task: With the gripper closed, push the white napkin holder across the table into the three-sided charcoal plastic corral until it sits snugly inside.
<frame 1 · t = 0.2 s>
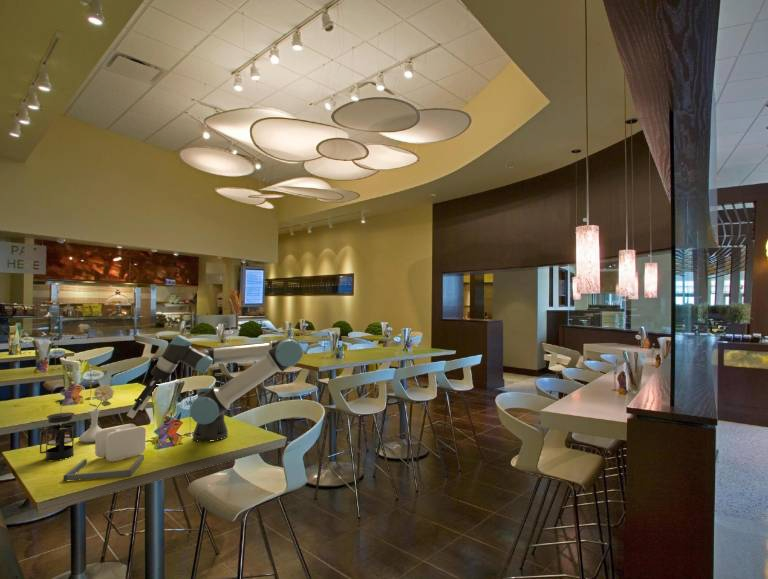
hand: (134, 412, 186), 16 cm above the table, tool tilted 30°, fingers open, 13 cm apart
white napkin holder: (120, 457, 178), on the table
flower in vase: (96, 440, 200), on the table
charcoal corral: (106, 469, 164), on the table
french press: (58, 457, 177), on the table
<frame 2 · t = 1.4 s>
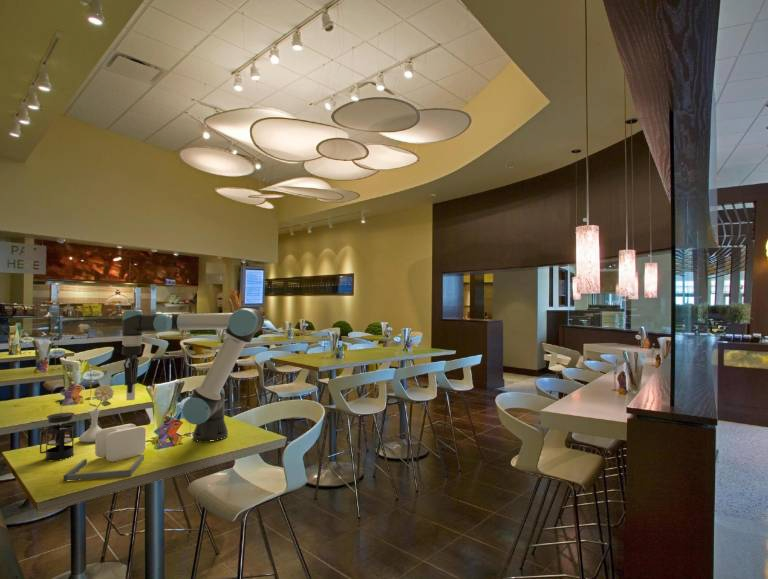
hand: (130, 399, 191), 20 cm above the table, tool pointing down, fingers closed
nothing on the table moved.
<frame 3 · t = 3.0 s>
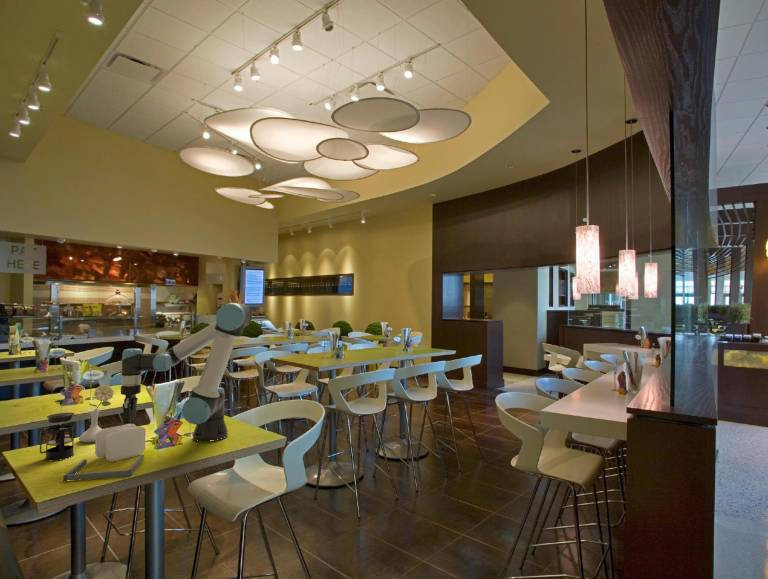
hand: (128, 439, 190), 3 cm above the table, tool pointing down, fingers closed
nothing on the table moved.
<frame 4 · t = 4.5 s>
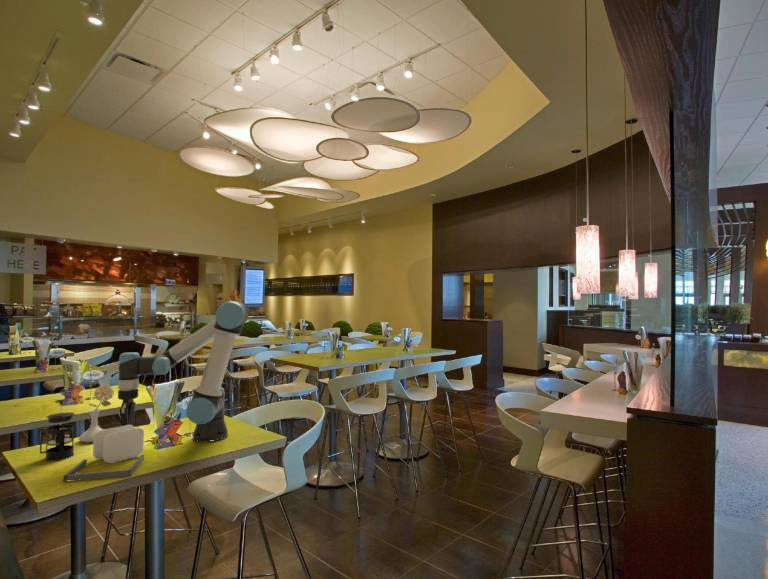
hand: (126, 444, 187), 2 cm above the table, tool pointing down, fingers closed
white napkin holder: (118, 458, 176), on the table, touching hand
everything else where it was.
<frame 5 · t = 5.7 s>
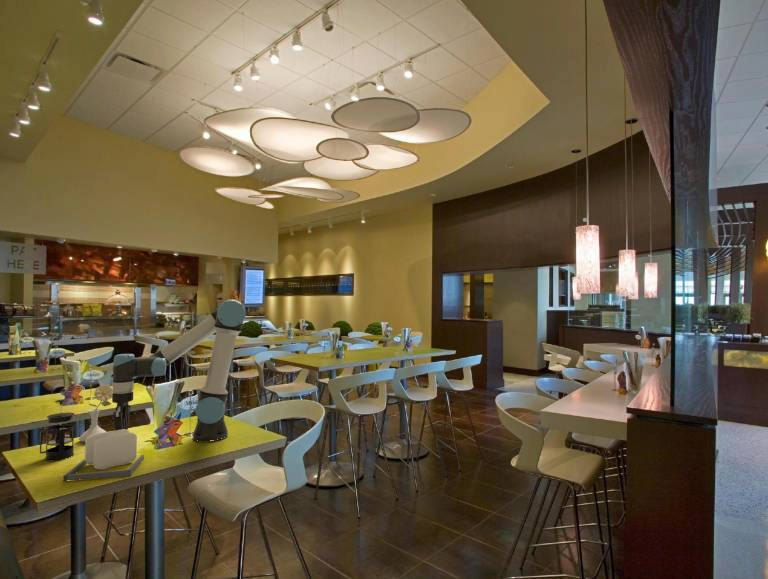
hand: (121, 449, 180), 2 cm above the table, tool pointing down, fingers closed
white napkin holder: (110, 464, 170), on the table, touching hand
everything else where it was.
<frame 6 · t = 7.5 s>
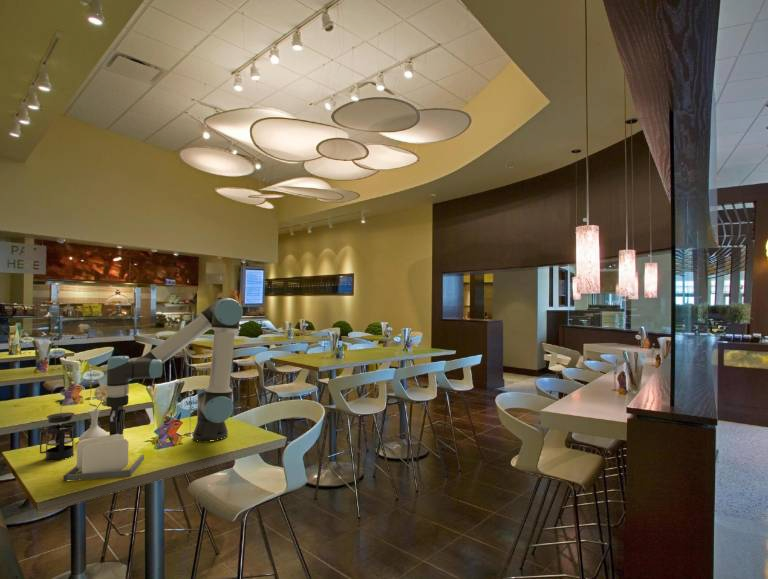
hand: (116, 455, 174), 2 cm above the table, tool pointing down, fingers closed
white napkin holder: (102, 471, 163), on the table, touching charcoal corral, hand
everything else where it was.
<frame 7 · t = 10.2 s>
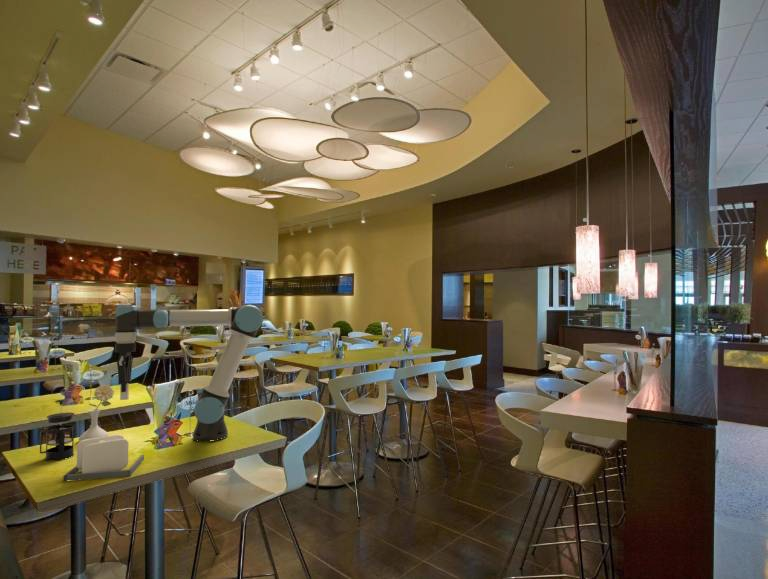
hand: (124, 399, 182), 22 cm above the table, tool pointing down, fingers closed
white napkin holder: (102, 471, 163), on the table
everything else where it was.
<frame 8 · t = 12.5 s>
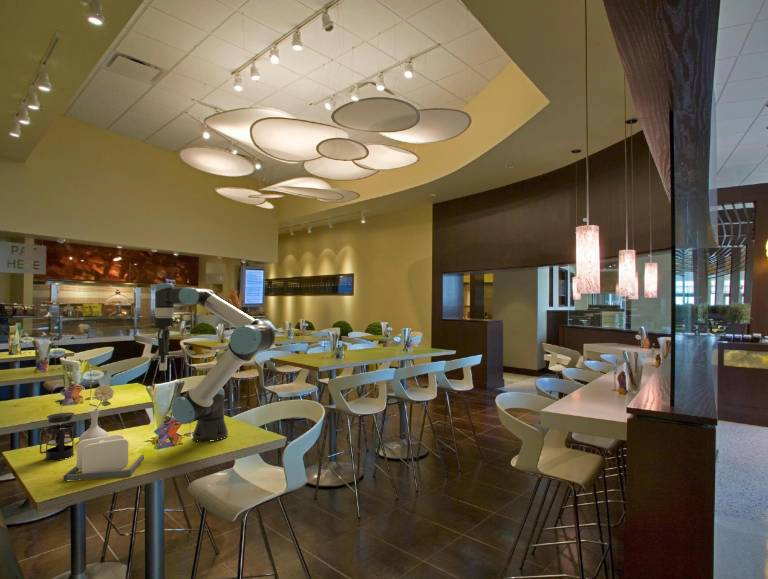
hand: (163, 370, 197), 32 cm above the table, tool pointing down, fingers closed
nothing on the table moved.
at the end: white napkin holder inside the target area on the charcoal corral (1.3 cm from its centre), point 0.0 cm above the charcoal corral's base; white napkin holder tilted 0°; the gripper is holding nothing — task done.
